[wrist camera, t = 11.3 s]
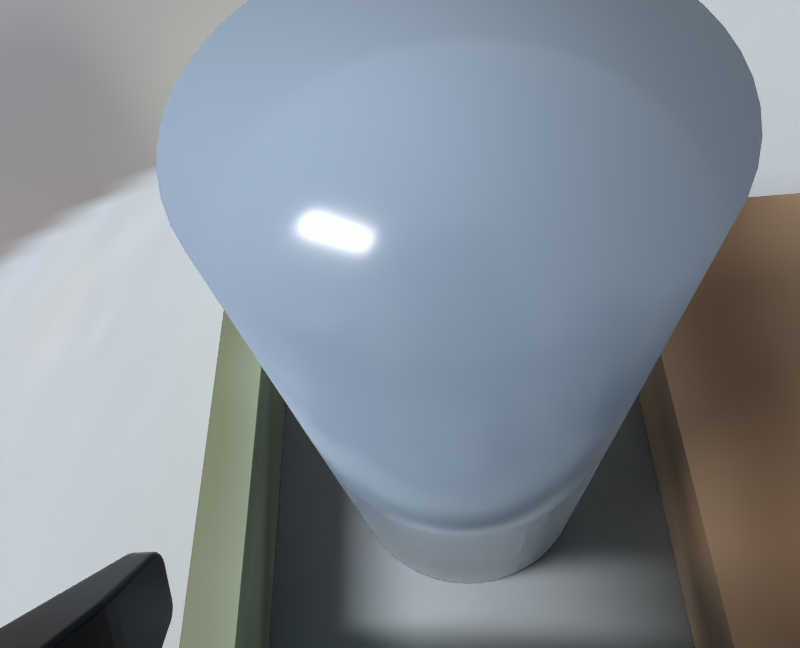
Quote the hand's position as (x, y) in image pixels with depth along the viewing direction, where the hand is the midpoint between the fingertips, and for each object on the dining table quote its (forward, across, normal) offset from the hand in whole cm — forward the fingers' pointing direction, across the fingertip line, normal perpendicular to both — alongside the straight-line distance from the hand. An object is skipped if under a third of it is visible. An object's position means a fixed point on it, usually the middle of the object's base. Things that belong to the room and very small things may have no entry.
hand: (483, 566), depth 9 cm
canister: (+8, 0, +3) cm, 9 cm away
